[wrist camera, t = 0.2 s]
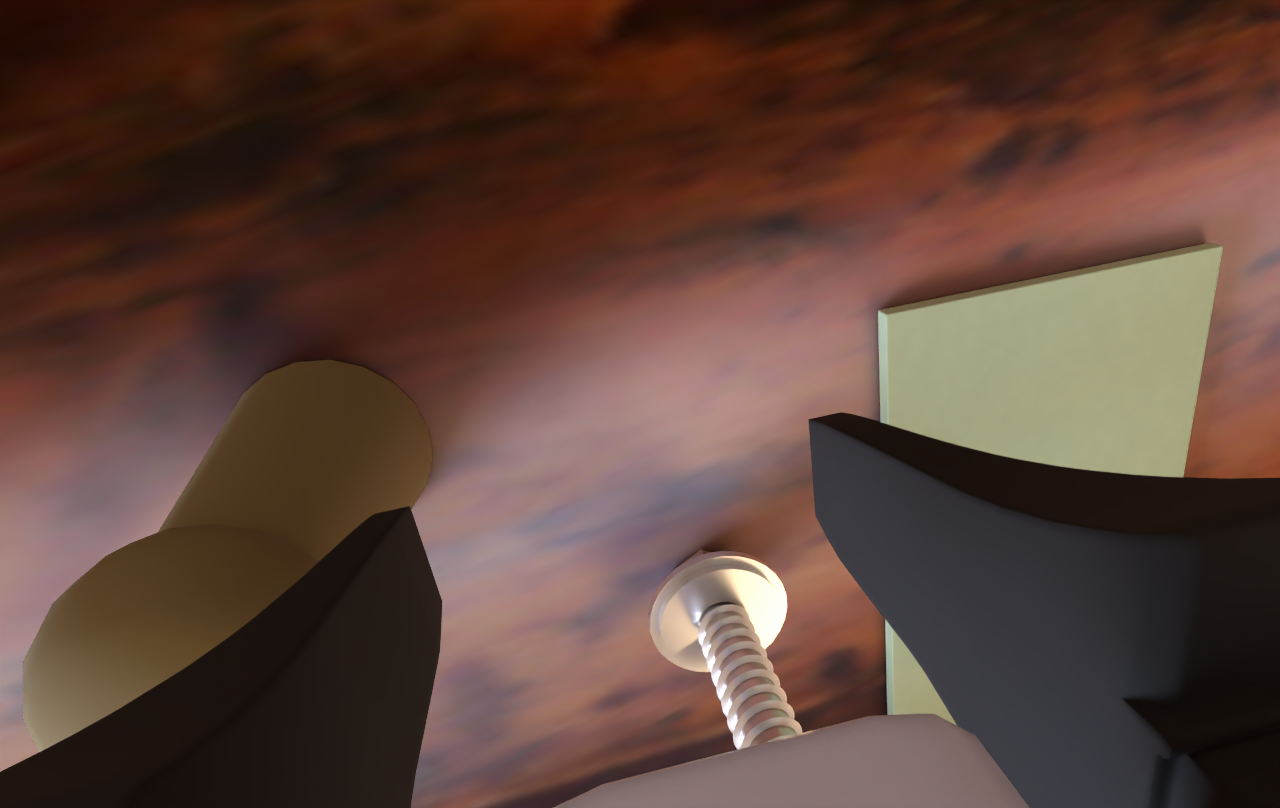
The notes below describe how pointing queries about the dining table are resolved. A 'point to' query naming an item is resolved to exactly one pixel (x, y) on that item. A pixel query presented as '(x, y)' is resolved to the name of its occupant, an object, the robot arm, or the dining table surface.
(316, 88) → the dining table surface
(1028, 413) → the mat
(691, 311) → the dining table surface
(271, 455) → the olive pawn
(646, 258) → the dining table surface
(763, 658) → the screw
